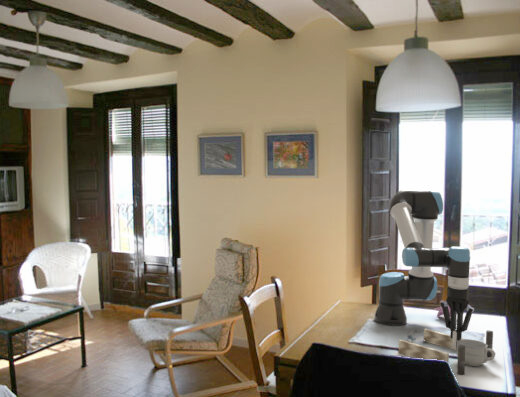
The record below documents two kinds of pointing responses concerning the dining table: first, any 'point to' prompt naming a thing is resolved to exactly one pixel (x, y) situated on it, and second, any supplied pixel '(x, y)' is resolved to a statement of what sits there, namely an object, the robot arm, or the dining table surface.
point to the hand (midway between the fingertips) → (455, 347)
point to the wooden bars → (430, 353)
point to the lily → (441, 310)
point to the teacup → (475, 352)
